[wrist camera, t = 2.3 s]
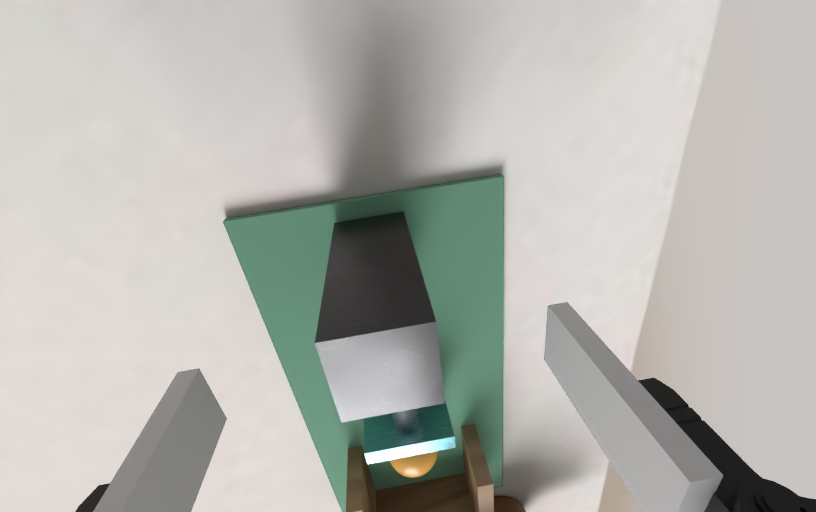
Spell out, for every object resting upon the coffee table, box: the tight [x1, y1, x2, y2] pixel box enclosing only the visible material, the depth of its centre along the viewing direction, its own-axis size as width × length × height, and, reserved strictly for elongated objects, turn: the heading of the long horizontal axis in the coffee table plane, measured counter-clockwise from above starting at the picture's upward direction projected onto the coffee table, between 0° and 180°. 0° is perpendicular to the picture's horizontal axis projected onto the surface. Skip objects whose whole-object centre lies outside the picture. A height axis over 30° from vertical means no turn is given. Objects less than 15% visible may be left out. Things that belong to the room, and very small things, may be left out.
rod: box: [315, 211, 456, 464], centre depth 20 cm, size 16×6×10 cm, turn 7°
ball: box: [389, 451, 438, 478], centre depth 28 cm, size 4×4×4 cm
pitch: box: [223, 174, 504, 512], centre depth 28 cm, size 32×16×1 cm, turn 7°
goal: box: [346, 424, 494, 512], centre depth 30 cm, size 8×11×5 cm
